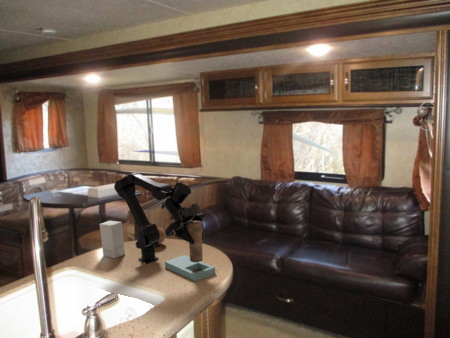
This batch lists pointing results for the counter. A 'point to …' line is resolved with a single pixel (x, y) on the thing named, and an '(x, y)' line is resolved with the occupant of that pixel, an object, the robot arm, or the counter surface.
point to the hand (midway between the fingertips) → (198, 241)
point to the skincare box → (112, 239)
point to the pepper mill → (195, 241)
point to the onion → (161, 235)
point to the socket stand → (189, 268)
